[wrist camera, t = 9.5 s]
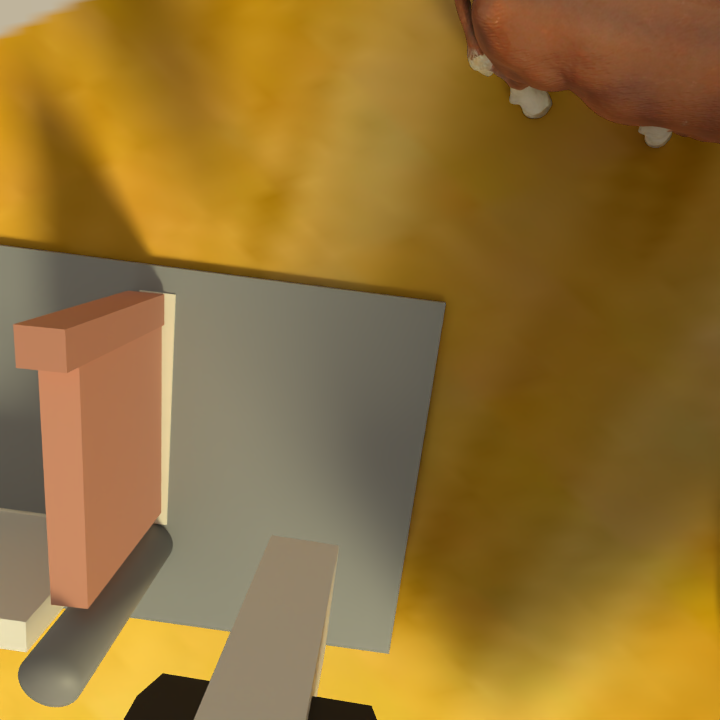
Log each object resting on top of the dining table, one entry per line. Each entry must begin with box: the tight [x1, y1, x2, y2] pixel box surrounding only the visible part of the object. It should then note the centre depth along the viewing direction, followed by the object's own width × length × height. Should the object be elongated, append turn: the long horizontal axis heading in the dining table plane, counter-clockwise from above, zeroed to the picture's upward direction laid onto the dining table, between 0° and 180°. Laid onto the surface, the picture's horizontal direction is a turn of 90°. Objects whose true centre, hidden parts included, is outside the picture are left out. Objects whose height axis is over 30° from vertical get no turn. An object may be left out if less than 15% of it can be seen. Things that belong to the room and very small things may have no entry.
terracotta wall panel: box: [13, 291, 164, 609], centre depth 19 cm, size 9×1×7 cm, turn 175°
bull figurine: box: [455, 0, 720, 148], centre depth 16 cm, size 4×13×8 cm, turn 69°
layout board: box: [0, 245, 446, 654], centre depth 24 cm, size 22×16×1 cm
